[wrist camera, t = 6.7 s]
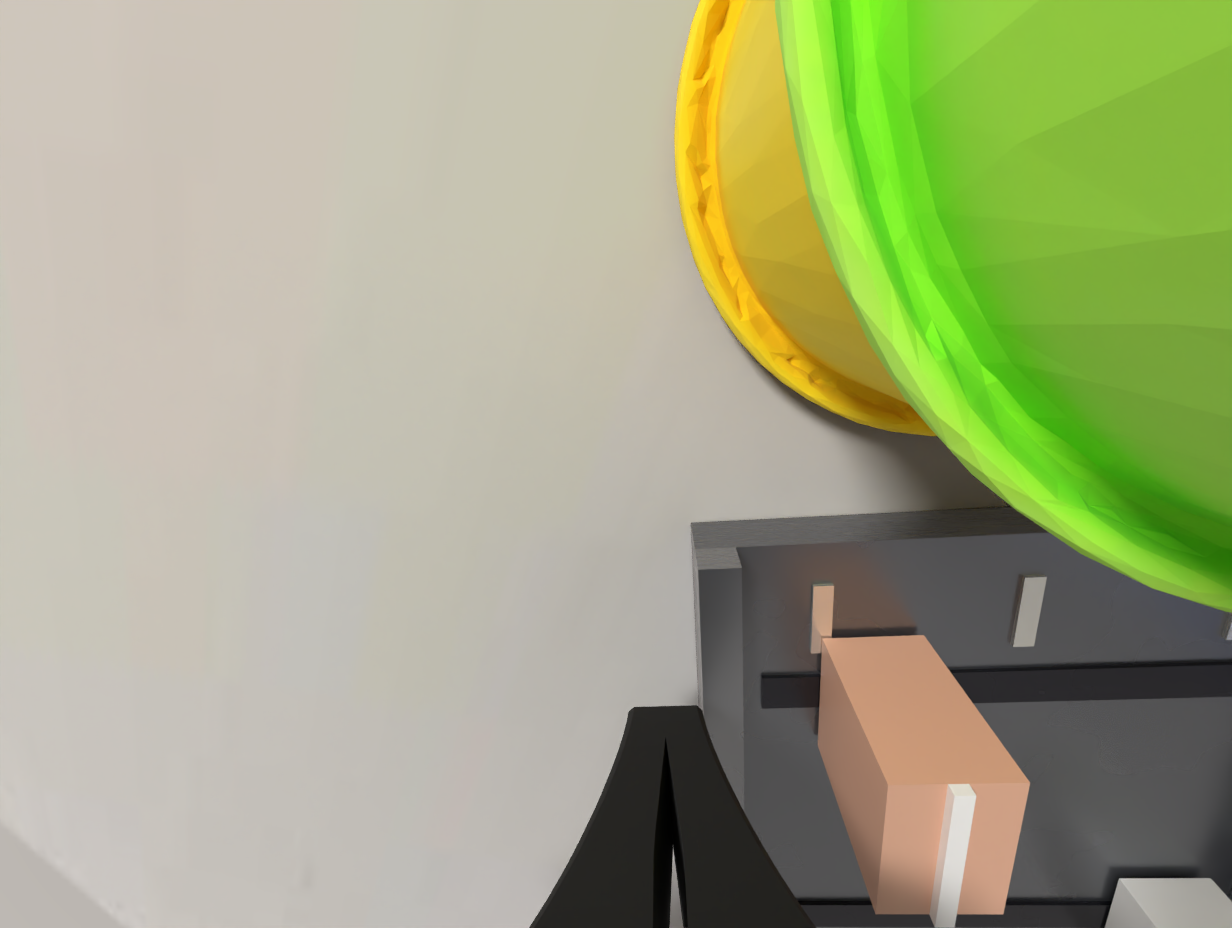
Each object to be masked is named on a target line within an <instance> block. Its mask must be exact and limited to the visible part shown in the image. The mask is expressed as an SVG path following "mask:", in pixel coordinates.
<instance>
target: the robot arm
mask: <svg viewBox="0 0 1232 928" xmlns="http://www.w3.org/2000/svg"><path fill="white" fill-rule="evenodd" d="M673 848H674V856H675V864H676V872H677V880H678V888H679V896H680V904H681V912H682V919H683V927H684V928H816V927H815V925H814V924H813V922H812V921H811V920H810V918H809V917H808V915H807V914H806V912H805V911H804V909H803V908H802V907H801V905H800V904H799V902H798V901H797V899H796V898H795V896H794V895H793V893H792V891H791V890H790V888H789V887H788V885H787V884H786V882H785V881H784V879H783V878H782V876H781V875H780V873H779V871H778V870H777V868H776V867H775V865H774V863H773V862H772V860H771V858H770V857H769V855H768V853H767V852H766V850H765V848H764V846H763V845H762V843H761V841H760V839H759V838H758V836H757V834H756V832H755V831H754V829H753V827H752V825H751V824H750V822H749V820H748V818H747V816H746V814H745V812H744V811H743V809H742V807H741V805H740V803H739V801H738V799H737V797H736V795H735V793H734V791H733V789H732V787H731V785H730V783H729V781H728V779H727V776H726V774H725V772H724V770H723V768H722V765H721V763H720V761H719V758H718V756H717V753H716V751H715V749H714V746H713V744H712V741H711V738H710V735H709V732H708V730H707V726H706V723H705V719H704V715H703V710H701V709H700V708H699V707H698V706H659V707H634V708H633V709H631V710H630V711H629V713H628V718H627V723H626V727H625V731H624V734H623V738H622V741H621V744H620V747H619V750H618V753H617V756H616V759H615V761H614V764H613V767H612V769H611V772H610V774H609V777H608V779H607V782H606V784H605V787H604V789H603V792H602V794H601V796H600V799H599V801H598V803H597V806H596V808H595V810H594V812H593V814H592V816H591V818H590V820H589V822H588V824H587V827H586V829H585V831H584V833H583V835H582V837H581V839H580V841H579V843H578V845H577V847H576V849H575V851H574V853H573V855H572V857H571V858H570V860H569V862H568V864H567V866H566V868H565V869H564V871H563V873H562V875H561V877H560V878H559V880H558V882H557V884H556V885H555V887H554V889H553V890H552V892H551V894H550V896H549V897H548V899H547V901H546V902H545V904H544V905H543V907H542V909H541V910H540V912H539V913H538V915H537V916H536V918H535V920H534V921H533V923H532V924H531V926H530V927H529V928H669V925H670V902H671V878H672V854H673Z"/></svg>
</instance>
